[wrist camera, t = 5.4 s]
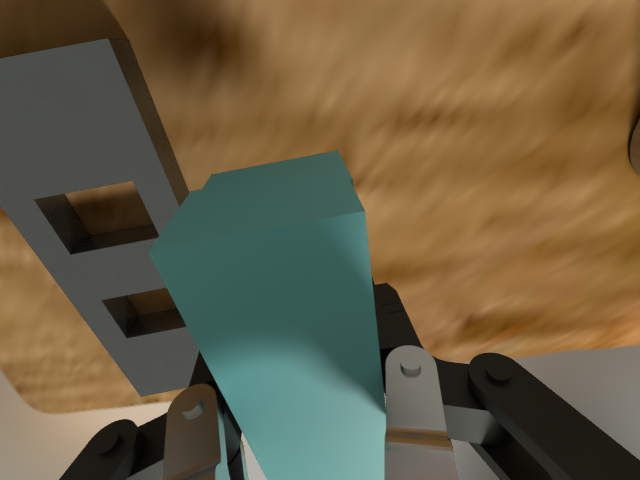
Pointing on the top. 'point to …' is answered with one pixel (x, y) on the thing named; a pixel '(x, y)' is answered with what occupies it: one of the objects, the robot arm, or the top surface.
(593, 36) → the top surface
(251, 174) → the teal rectangular block
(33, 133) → the grey board with holes
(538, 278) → the top surface
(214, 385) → the robot arm
